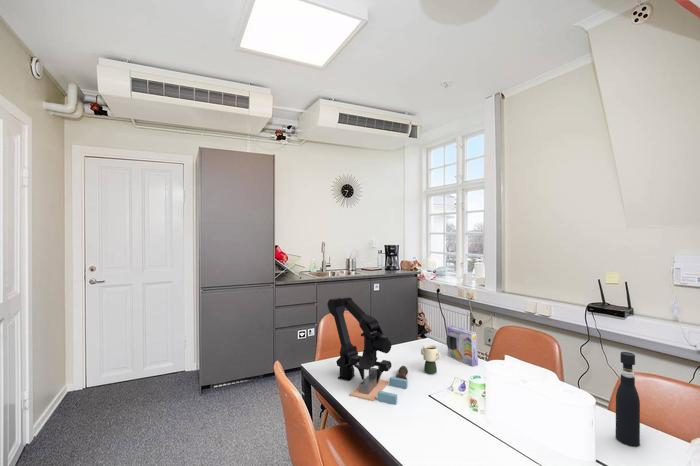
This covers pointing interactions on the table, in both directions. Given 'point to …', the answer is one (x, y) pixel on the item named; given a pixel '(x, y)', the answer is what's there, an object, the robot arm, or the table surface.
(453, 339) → the cake pan box
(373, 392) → the mat
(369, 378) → the crook bar
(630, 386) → the black bottle
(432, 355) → the character mug
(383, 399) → the vise jaws
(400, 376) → the brown oblong lump
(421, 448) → the table surface
